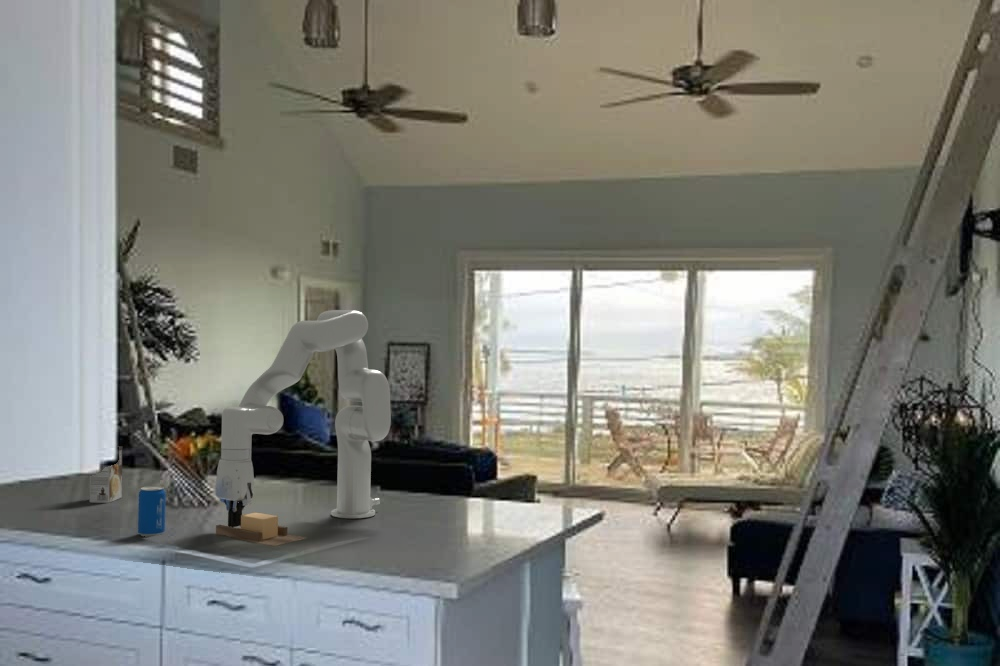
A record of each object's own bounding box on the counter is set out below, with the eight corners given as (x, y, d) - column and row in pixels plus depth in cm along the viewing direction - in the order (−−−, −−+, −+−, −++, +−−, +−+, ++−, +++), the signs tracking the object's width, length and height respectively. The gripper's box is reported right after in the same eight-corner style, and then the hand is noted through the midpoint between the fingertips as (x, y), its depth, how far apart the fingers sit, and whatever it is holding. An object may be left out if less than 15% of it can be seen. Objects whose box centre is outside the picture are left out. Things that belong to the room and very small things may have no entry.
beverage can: (149, 538, 238) (149, 490, 238) (132, 535, 242) (133, 488, 242) (170, 534, 244) (171, 487, 244) (153, 531, 247) (154, 485, 247)
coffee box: (101, 497, 295) (102, 445, 295) (122, 497, 294) (123, 446, 294) (88, 502, 285) (89, 449, 285) (109, 503, 285) (110, 449, 285)
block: (255, 531, 244) (256, 512, 244) (277, 536, 240) (278, 516, 240) (240, 535, 240) (241, 515, 240) (262, 539, 235) (263, 519, 235)
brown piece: (248, 530, 250) (248, 519, 250) (308, 541, 238) (308, 529, 238) (212, 537, 241) (213, 526, 241) (273, 550, 229) (274, 537, 229)
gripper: (205, 453, 246) (203, 524, 246) (244, 459, 237) (243, 532, 237) (228, 451, 252) (226, 520, 252) (267, 456, 244) (265, 527, 244)
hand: (234, 525), depth 245 cm, fingers closed
